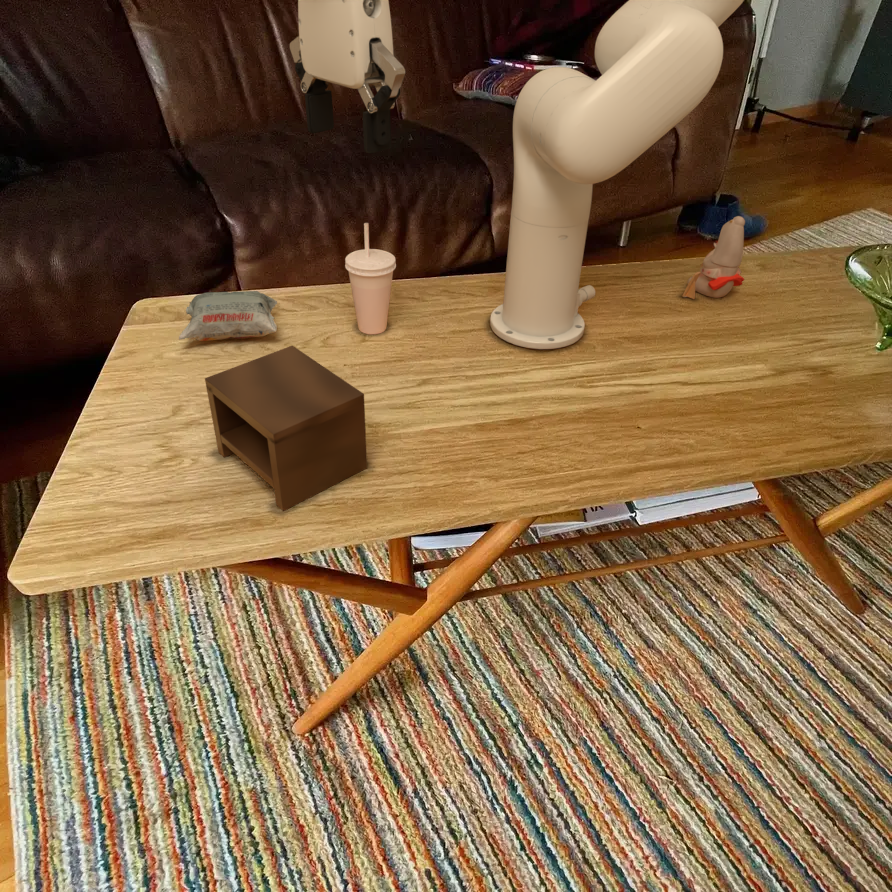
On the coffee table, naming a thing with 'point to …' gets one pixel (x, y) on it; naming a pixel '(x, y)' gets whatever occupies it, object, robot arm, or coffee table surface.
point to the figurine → (720, 263)
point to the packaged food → (230, 316)
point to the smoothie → (371, 285)
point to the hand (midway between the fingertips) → (348, 140)
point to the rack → (289, 423)
